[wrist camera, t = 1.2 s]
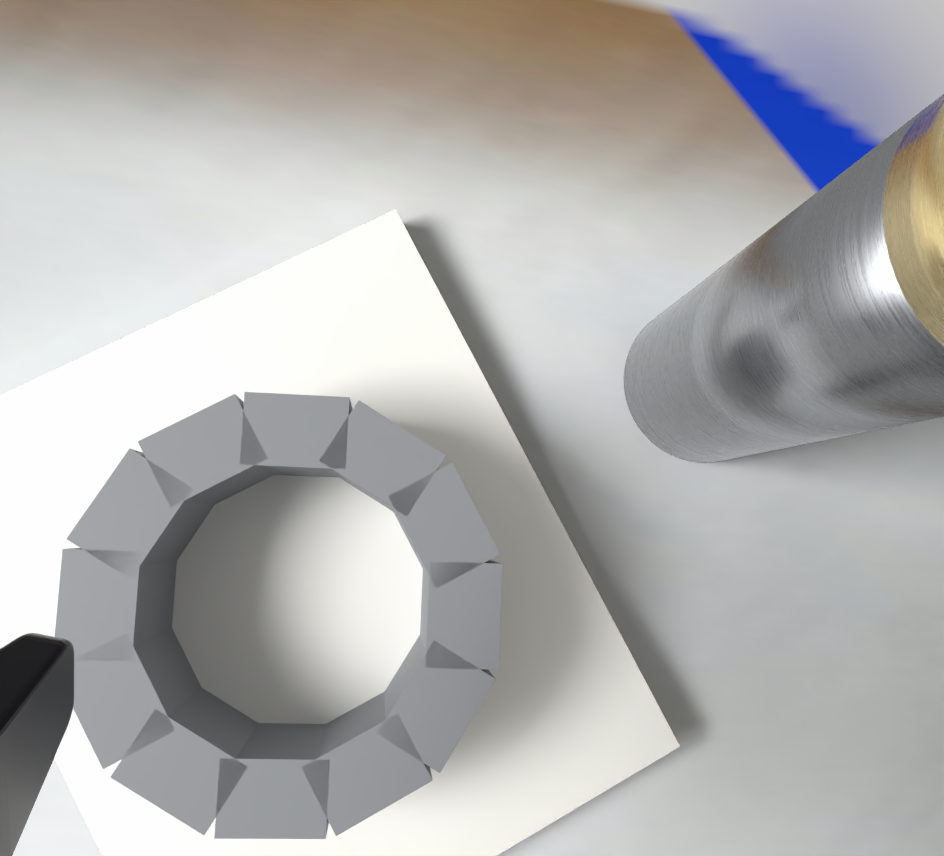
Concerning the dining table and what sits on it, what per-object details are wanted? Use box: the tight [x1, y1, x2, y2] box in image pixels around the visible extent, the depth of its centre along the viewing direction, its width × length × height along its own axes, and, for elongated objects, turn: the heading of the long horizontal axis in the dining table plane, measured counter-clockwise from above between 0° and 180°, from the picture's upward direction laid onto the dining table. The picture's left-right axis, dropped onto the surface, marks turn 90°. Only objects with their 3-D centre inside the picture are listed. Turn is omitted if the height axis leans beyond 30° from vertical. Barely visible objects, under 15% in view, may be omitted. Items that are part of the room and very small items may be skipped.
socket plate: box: [0, 209, 680, 856], centre depth 19 cm, size 14×12×4 cm
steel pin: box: [624, 94, 944, 463], centre depth 16 cm, size 4×4×13 cm
